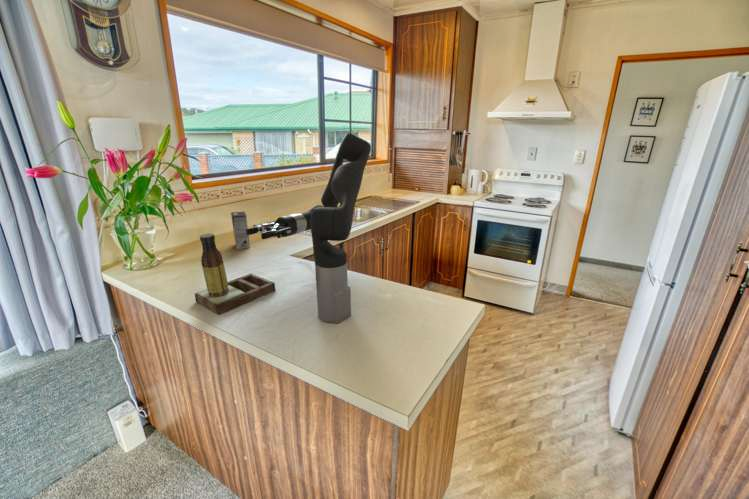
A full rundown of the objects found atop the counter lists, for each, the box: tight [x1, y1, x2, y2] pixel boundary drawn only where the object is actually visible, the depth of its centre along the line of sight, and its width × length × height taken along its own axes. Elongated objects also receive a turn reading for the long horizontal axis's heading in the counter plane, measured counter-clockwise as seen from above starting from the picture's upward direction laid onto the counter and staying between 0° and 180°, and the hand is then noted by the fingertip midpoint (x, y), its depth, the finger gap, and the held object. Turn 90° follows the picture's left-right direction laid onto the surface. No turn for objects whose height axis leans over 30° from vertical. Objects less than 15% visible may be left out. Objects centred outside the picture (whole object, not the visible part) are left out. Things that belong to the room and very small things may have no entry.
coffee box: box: [230, 211, 251, 250], centre depth 165 cm, size 9×6×16 cm
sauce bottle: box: [199, 233, 229, 297], centre depth 107 cm, size 6×6×20 cm
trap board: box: [194, 273, 276, 316], centre depth 116 cm, size 14×21×3 cm, turn 143°
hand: (254, 234), depth 116 cm, fingers open, 8 cm apart
